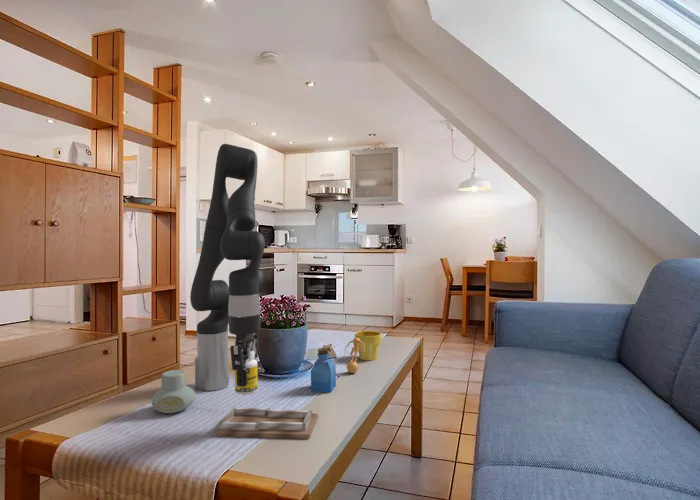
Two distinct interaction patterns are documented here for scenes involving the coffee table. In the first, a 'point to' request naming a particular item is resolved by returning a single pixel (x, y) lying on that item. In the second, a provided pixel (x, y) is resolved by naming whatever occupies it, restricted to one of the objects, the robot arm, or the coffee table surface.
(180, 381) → the air freshener
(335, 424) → the coffee table surface
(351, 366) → the figurine
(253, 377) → the supplement bottle
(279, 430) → the brown rectangular tray
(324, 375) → the perfume bottle
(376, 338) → the plant pot
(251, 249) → the robot arm
